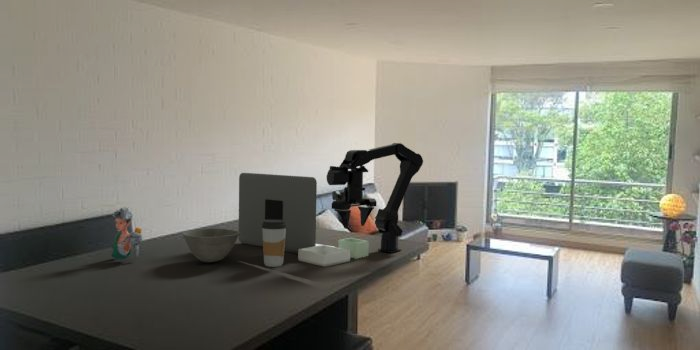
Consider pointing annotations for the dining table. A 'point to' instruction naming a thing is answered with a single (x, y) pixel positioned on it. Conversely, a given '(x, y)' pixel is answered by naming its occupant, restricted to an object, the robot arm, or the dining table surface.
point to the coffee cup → (273, 241)
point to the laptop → (278, 208)
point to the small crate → (355, 247)
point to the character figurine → (125, 235)
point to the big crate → (324, 255)
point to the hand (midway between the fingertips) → (354, 227)
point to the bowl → (210, 243)
